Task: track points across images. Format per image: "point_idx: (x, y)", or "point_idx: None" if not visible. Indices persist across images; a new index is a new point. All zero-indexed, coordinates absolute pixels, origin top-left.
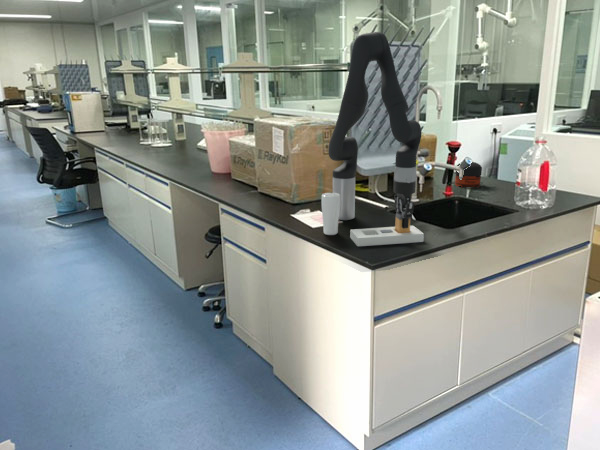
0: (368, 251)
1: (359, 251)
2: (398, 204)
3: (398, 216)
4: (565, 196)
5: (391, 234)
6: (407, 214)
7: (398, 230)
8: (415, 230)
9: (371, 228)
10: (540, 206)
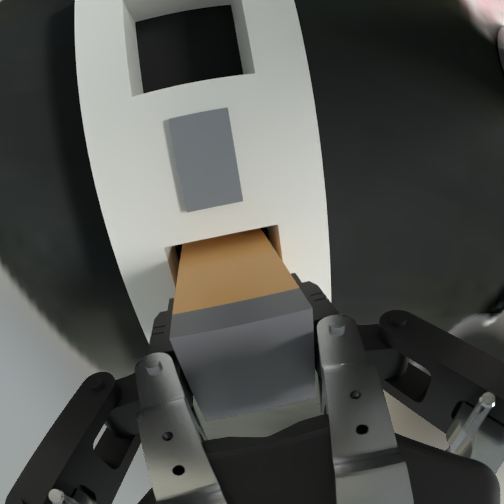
0: (17, 57)
1: (26, 17)
2: (327, 431)
3: (213, 323)
4: None
5: (128, 192)
6: (108, 421)
7: (191, 258)
8: None
9: (298, 55)
10: None
